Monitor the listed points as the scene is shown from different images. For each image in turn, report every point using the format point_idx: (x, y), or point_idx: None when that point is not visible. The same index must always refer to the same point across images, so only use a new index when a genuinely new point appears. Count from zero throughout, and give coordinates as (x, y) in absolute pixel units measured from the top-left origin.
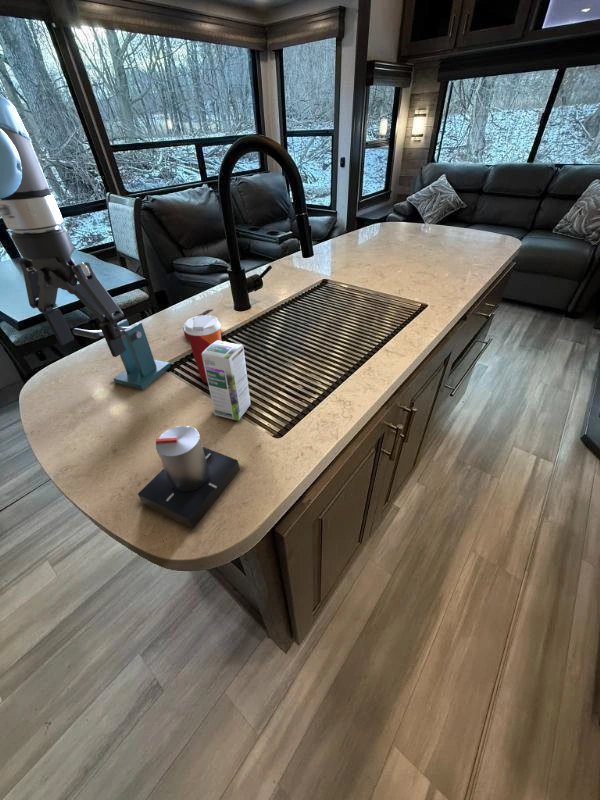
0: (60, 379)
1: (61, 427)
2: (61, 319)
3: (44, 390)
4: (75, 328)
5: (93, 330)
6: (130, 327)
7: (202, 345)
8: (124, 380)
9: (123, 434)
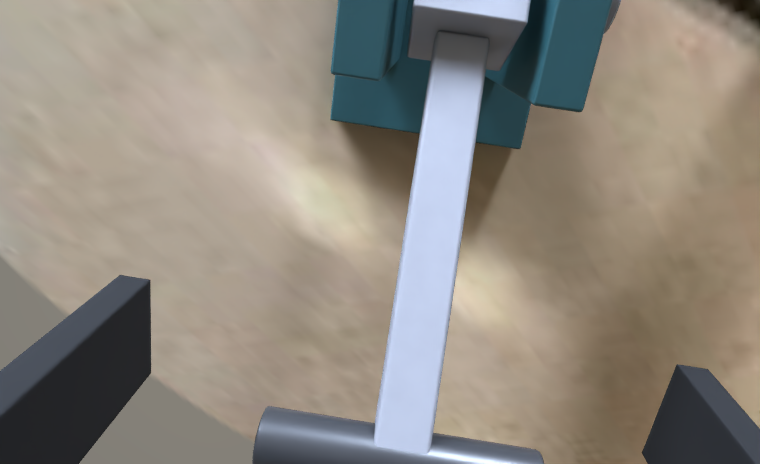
0: (42, 143)
1: (331, 409)
2: (22, 426)
3: (57, 234)
4: (269, 459)
5: (394, 362)
6: (572, 14)
7: None
8: (405, 125)
9: (587, 408)
